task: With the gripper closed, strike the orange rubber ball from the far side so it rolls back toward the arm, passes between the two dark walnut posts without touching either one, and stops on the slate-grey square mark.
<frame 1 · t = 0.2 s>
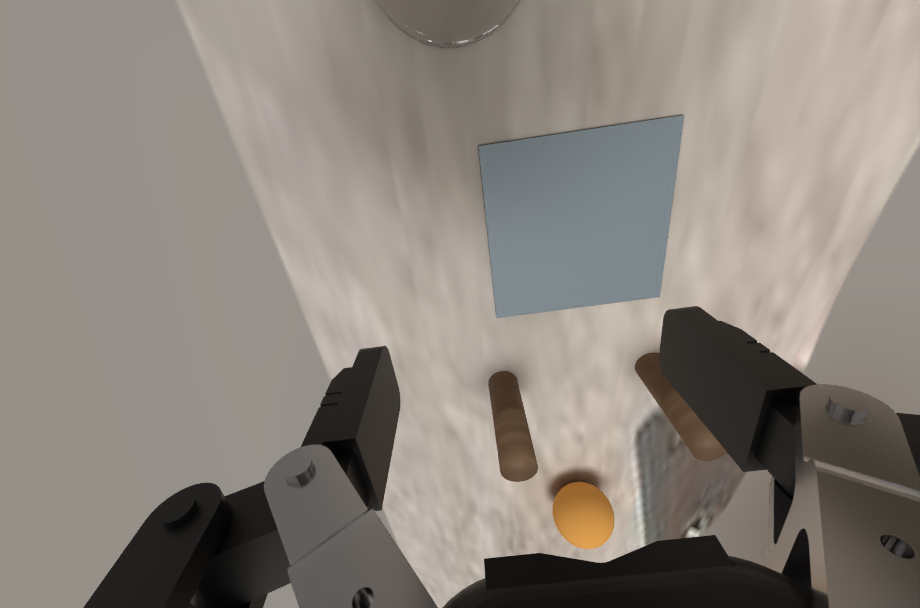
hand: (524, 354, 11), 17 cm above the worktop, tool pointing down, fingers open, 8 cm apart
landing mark: (577, 228, 27), on the worktop
post 2: (649, 365, 33), on the worktop
ball: (582, 514, 38), on the worktop
post 1: (502, 383, 34), on the worktop
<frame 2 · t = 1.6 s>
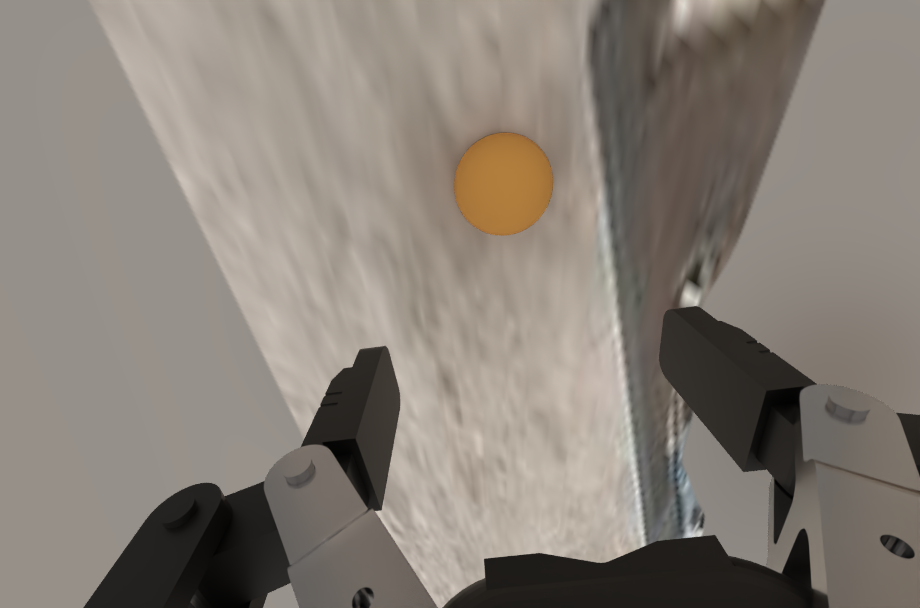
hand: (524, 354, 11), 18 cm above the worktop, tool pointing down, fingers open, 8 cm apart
ball: (502, 186, 23), on the worktop
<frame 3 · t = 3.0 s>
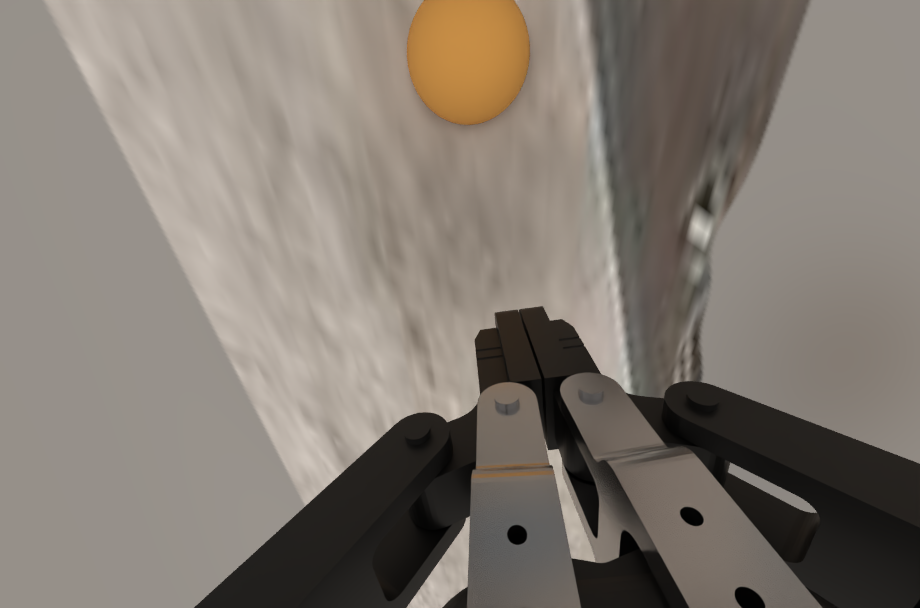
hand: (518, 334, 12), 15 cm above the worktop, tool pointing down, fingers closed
ball: (468, 57, 18), on the worktop
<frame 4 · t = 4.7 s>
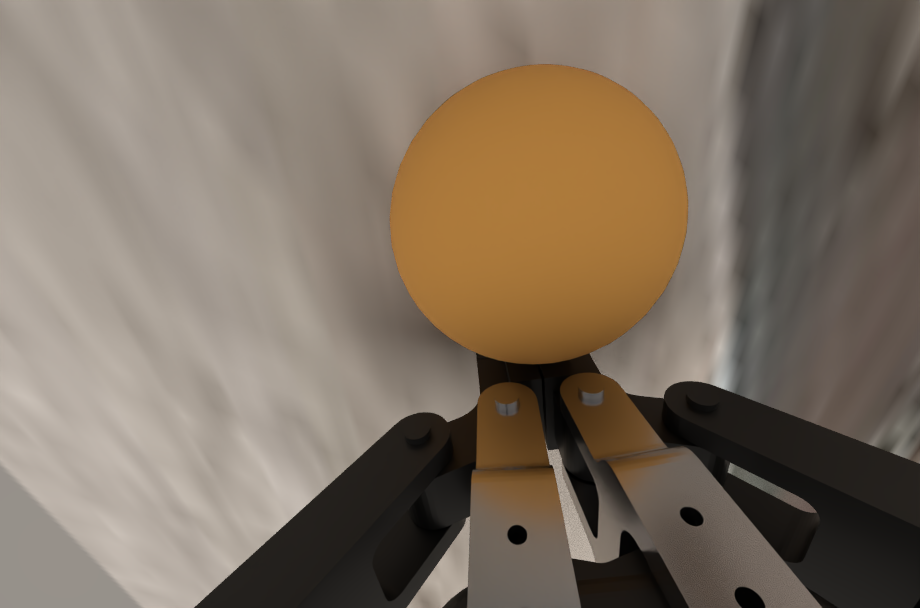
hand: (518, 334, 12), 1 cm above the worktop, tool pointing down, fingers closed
ball: (528, 226, 8), on the worktop
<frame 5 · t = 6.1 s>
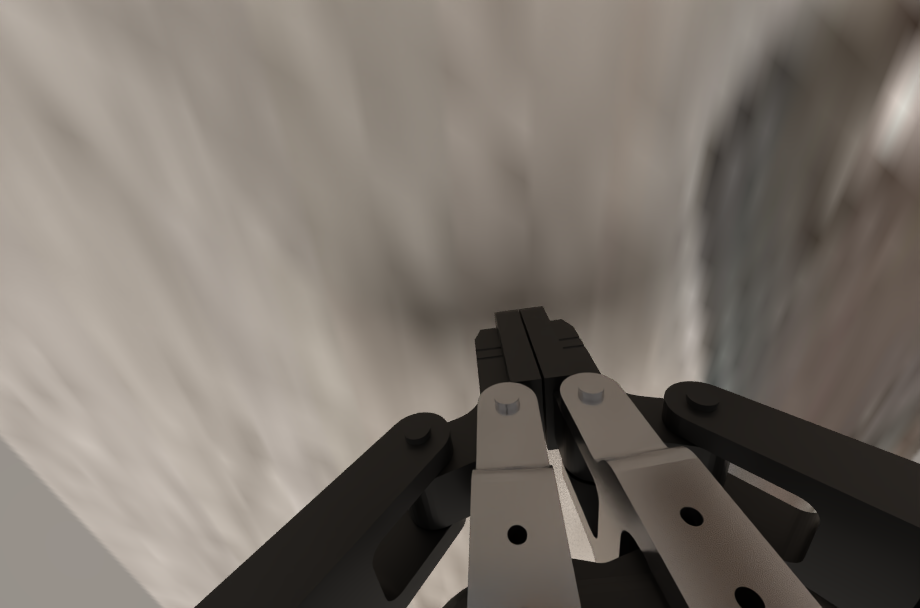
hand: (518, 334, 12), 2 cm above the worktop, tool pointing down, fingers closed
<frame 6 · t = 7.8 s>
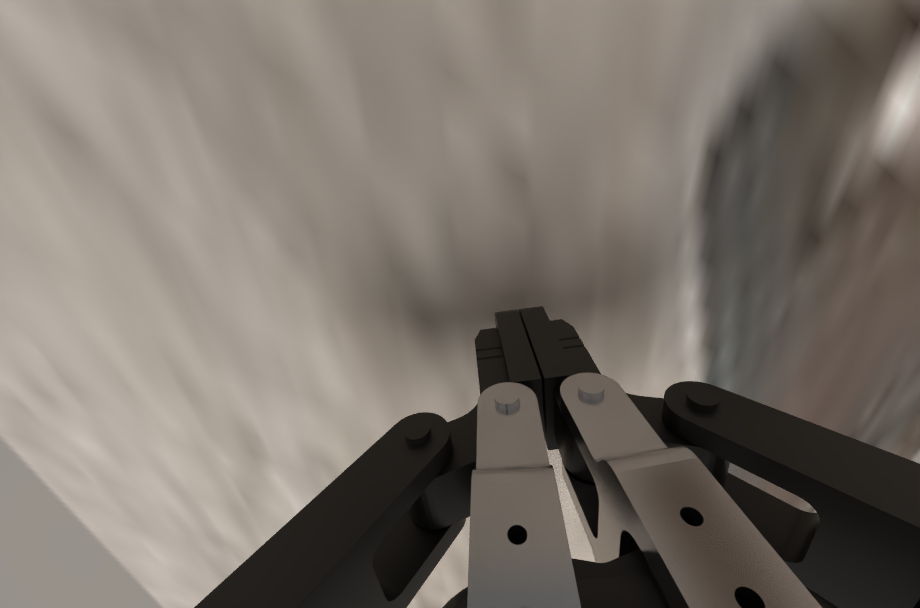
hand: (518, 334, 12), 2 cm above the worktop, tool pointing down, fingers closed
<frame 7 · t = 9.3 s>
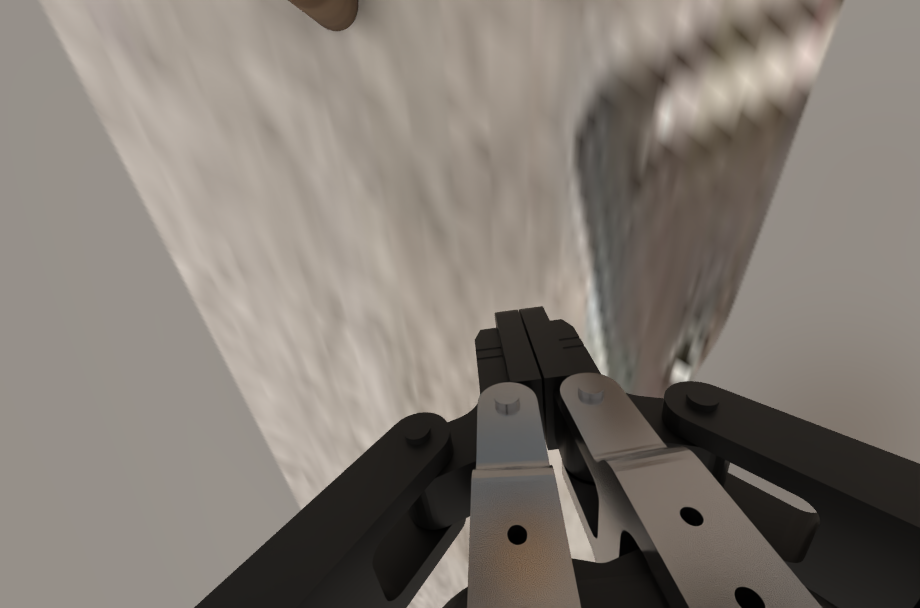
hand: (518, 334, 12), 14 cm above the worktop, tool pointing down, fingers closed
post 1: (332, 0, 20), on the worktop
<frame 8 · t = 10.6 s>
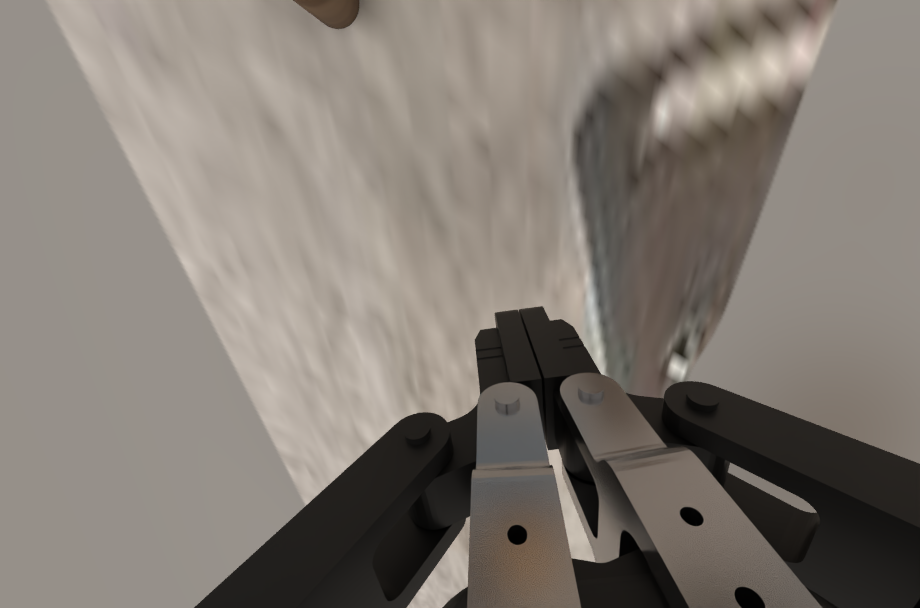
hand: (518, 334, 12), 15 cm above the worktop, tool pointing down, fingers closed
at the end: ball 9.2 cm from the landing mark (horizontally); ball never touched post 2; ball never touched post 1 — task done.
